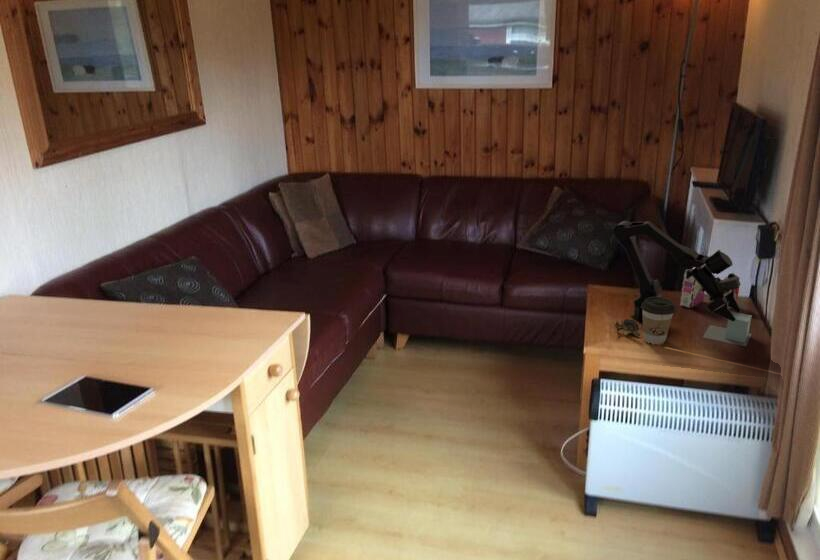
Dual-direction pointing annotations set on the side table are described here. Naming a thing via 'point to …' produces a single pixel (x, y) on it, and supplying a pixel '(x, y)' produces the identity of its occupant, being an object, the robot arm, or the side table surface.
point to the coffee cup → (656, 319)
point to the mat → (722, 335)
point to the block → (738, 327)
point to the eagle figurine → (628, 327)
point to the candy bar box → (691, 292)
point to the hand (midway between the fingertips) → (737, 316)
